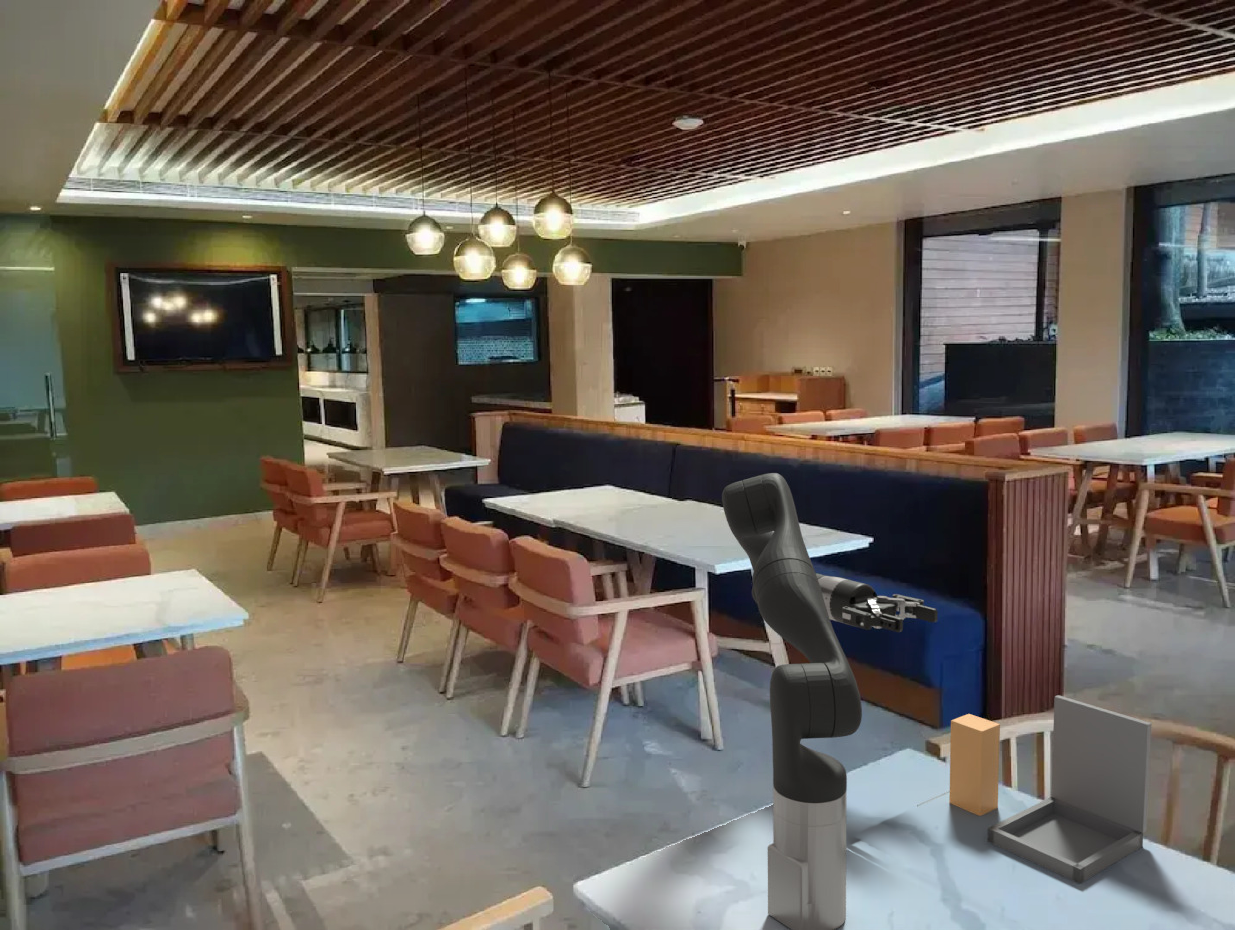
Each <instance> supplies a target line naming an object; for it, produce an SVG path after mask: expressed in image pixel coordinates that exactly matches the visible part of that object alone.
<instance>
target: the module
mask: <svg viewBox="0 0 1235 930" xmlns="http://www.w3.org/2000/svg"><path fill="white" fill-rule="evenodd" d="M1000 730H1001V724H1000V723H997V722H995V721H991V720H990V719H989V720H988V719H987V718H982V717H979V716H976V715H973V714H970V713H968V714H967V713H966V714H965V715H964V714H963V715H962V716H959V717H956V718H954V719H952V720H950V749H949V751H950V757H949V758H950V759H949V760H950V761H949V762H950V763H949V791H950V792H949V804H952V805H953V806H955V807H957V808H960V809H962V810H965V811H967V812H970V813H972V814H974V815H977V816H979V817H981V816H983V815H986V814H988V813H989V812H992V811H994V810H996V809H998V808H999V780H1000V779H999V778H1000V777H999V774H1000V773H999V771H1000V738H1001V736H1000V735H1001V734H1000V733H1001V731H1000Z"/></svg>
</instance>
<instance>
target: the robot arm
mask: <svg viewBox="0 0 1235 930" xmlns="http://www.w3.org/2000/svg"><path fill="white" fill-rule="evenodd" d="M793 497H794V496H793V494H792V491H791V489H790V486H789V485H788V482H787V481H786V479H785V478H784V477H783V475H781V474H779V473H777V472H771V473H769V472H768V473H764V474H760V475H757V476H752V477H750V478H747V479H743V480H739V481H735V482H732V483H730V484H729V485H726V486H724V489H723V491H722V493H721V503H722V507H723V511H724V512H723V513H724V516H725V519H726V522H727V525H728V526H729V529H730V531H731V533H732V534H733V536H734V538H735V539H736V541H737V543H738V544H739V545H740V546H741V548H742V549H743V550H744V552H745V554H746V555H747V557H748V559H749V561H750V564H751V567H752V571H753V573H752V588H751V597H752V598H753V600H754V601H755V603H756V604H757V607H758V611H759V613H760V615H761V618H762V619H763V620H764V622H765V624H767V625H768V626H769V627H770V628H771V629H772V631H774V632H775V633H776V634H777V635H778V636H780V637H781V638H782V639H783V640H785V641H786V642H788V644H790V645H791V646H793V648H795V649H796V650H798V651H799V652H800V653H801V654H803V656H804V657H805V658H806V659H807V660H808V661H809V662H808V663H790V664H789V663H788V664H780V665H777V666H775V668H774V669H773V671H772V673H771V676H770V681H769V705H770V717H771V719H770V720H771V722H770V723H771V738H772V740H771V741H772V785H773V786H772V787H773V788H772V799H773V801H772V808H773V809H772V815H773V816H772V819H773V820H772V821H773V822H772V823H773V824H772V827H773V828H772V829H773V830H772V831H773V834H772V836H773V837H772V838H773V839H772V841H773V842H772V843H770V844H768V846H767V914H768V915H769V916H771V917H772V918H773V919H775V920H777V921H778V922H779V923H781V924H783V926H786V927H787V928H789V929H790V930H836V929H838V928H840V927H841V926H842V925H843V924H844V922H845V921H846V917H847V799H848V798H847V790H848V789H847V788H848V784H847V782H848V781H847V780H848V778H847V776H848V775H847V772H846V768H845V766H844V765H843V764H842V762H840V761H839V760H837V758H835V757H833V756H832V755H828V754H826V753H823V752H820V751H818V750H814V749H812V748H809V747H807V746H805V745H803V744H802V743H801V741H802V740H804V739H807V740H808V739H830V738H831V739H832V738H843V737H847V736H851V735H853V734H855V733H856V732H857V730H859V728H860V726H861V723H862V718H863V710H862V700H861V699H862V698H861V694H860V691H859V687H858V684H857V680H856V677H855V674H854V672H853V670H852V667H851V666H850V663H849V660H848V658H847V655H846V654H845V652H844V650H843V648H842V645H841V643H840V642H839V639H838V636H837V635H836V633H835V630H834V627H833V625H832V622H831V621H834V622H837V623H838V622H839V623H842V624H845V625H847V626H848V625H849V626H852V627H856V628H860V629H863V630H866V631H869V630H872V627H873V628H874V629H878V630H879V629H884V630H888V631H892V632H896V633H901V632H903V630H904V620H905V619H906V618H911V619H918V620H921V621H926V622H929V623H933V624H934V623H937V622H938V614H939V613H938V610H937V609H936V608H933V607H929V606H926V605H924V602H925V601H924V599H922V598H921V599H920V598H917V597H916V598H915V597H911V596H907V595H906V596H905V595H902V594H898V593H895V594H892V597H888V596H886V595H878V594H877V593H876V591H875V589H874V588H873V587H872V586H871V585H870V584H868V583H867V584H866V583H863V582H859V581H855V580H851V579H847V578H843V577H839V576H838V577H837V576H830V575H825V574H821V573H816V571H815V568H814V565H813V562H812V560H811V557H810V555H809V552H808V549H807V547H806V544H805V542H804V538H803V534H802V531H801V527H800V522H799V519H798V514H797V509H796V505H795V501H794V498H793ZM897 612H899V614H897Z"/></svg>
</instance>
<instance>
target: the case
mask: <svg viewBox="0 0 1235 930" xmlns="http://www.w3.org/2000/svg"><path fill="white" fill-rule="evenodd" d="M1053 698H1054V700H1053V701H1054V702H1053V703H1054V704H1053V731H1052V732H1053V733H1052V735H1053V736H1052V759H1051V760H1052V761H1051V762H1052V763H1051V765H1052V766H1051V768H1052V769H1051V794H1050V795H1051V796H1050V797H1048V798H1046V799H1044V800H1042V801H1040V802H1039V803H1036V804H1034V805H1033V806H1032V805H1031V806H1030V807H1028V808H1025V809H1024V810H1022V811H1020V812H1018V813H1016V814H1014V815H1012V816H1009V817H1008V818H1006V819H1004V820H1001V821H1000V822H998V823H995V824H994V825H991V826H989V827H988V828H987V843H990V844H992V845H994V846H996V847H998V848H1001V849H1003V850H1005V851H1007V852H1009V853H1011V854H1014V855H1016V856H1018V857H1021V858H1022V859H1025V860H1027V861H1030V862H1031V863H1034V864H1035V865H1038V866H1040V867H1042V868H1043V869H1044V868H1045V869H1046V870H1049V871H1051V872H1053V873H1055V874H1058V875H1060V876H1062V877H1064V878H1066V879H1069V880H1071V881H1073V882H1075V883H1077V884H1083V882H1085V881H1086V880H1088V879H1091V878H1092V877H1093V876H1095V875H1097V874H1099V873H1101V872H1102V871H1104V870H1106V869H1107V868H1109V867H1110V866H1112V865H1113V864H1116V863H1117V862H1118V861H1121V860H1122V859H1124V858H1126V857H1128V856H1129V855H1131V854H1133V853H1134V852H1136V851H1137V850H1139V849H1141V848H1142V847H1144V833H1146V832H1147V831H1148V830H1147V829H1148V810H1149V809H1148V808H1149V807H1148V806H1149V805H1148V804H1149V786H1150V785H1149V784H1150V783H1149V782H1150V768H1151V767H1150V766H1151V765H1150V763H1151V742H1152V741H1151V740H1152V723H1153V722H1149V721H1146V720H1142V719H1140V718H1136V717H1132V716H1129V715H1126V714H1122V713H1119V712H1116V711H1112V710H1109V709H1105V708H1102V707H1098V706H1097V705H1096V706H1095V705H1093V704H1089V703H1085V702H1083V701H1080V700H1079V701H1078V700H1076V699H1073V698H1069V697H1066V696H1063V695H1060V694H1058V695H1055V696H1054V697H1053Z"/></svg>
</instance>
